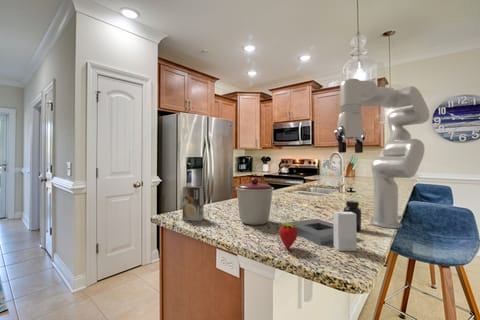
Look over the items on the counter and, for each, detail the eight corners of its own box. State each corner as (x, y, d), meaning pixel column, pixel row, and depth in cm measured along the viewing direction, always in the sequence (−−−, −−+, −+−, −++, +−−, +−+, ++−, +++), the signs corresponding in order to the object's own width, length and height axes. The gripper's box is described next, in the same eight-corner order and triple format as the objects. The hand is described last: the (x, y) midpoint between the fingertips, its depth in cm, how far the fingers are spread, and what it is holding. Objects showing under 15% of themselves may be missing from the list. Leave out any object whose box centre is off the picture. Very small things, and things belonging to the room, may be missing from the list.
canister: (238, 217, 120) (238, 176, 120) (273, 218, 118) (273, 177, 118) (232, 226, 102) (232, 178, 102) (273, 228, 100) (274, 179, 100)
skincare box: (350, 246, 79) (350, 211, 79) (357, 251, 74) (357, 214, 75) (332, 246, 79) (332, 210, 79) (338, 251, 74) (338, 213, 75)
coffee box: (204, 218, 117) (204, 186, 117) (199, 221, 111) (200, 187, 111) (186, 217, 118) (187, 185, 119) (181, 220, 112) (182, 187, 112)
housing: (317, 225, 106) (317, 218, 106) (355, 238, 88) (355, 230, 88) (285, 229, 98) (285, 222, 98) (320, 245, 80) (320, 236, 80)
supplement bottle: (363, 232, 96) (363, 203, 96) (345, 231, 97) (345, 202, 97) (358, 227, 102) (358, 200, 102) (341, 226, 104) (341, 199, 104)
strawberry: (296, 245, 80) (296, 216, 80) (298, 253, 72) (298, 221, 72) (279, 244, 81) (279, 215, 81) (278, 252, 73) (279, 220, 74)
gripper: (356, 114, 102) (356, 153, 102) (327, 110, 94) (328, 152, 94) (372, 110, 95) (373, 152, 95) (343, 106, 87) (343, 152, 87)
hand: (350, 152), depth 95 cm, fingers open, 9 cm apart
